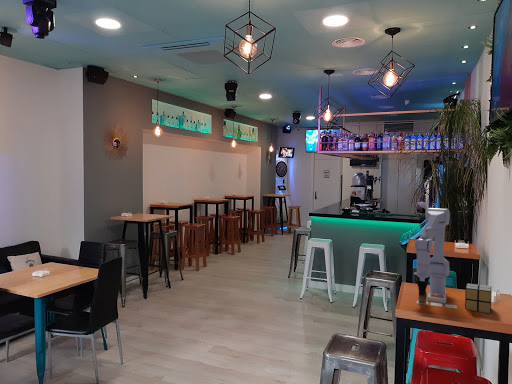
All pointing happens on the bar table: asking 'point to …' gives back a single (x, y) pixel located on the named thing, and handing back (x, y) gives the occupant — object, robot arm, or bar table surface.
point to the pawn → (422, 298)
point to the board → (440, 304)
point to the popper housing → (436, 298)
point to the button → (437, 295)
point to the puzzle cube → (478, 298)
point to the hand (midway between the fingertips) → (422, 293)
